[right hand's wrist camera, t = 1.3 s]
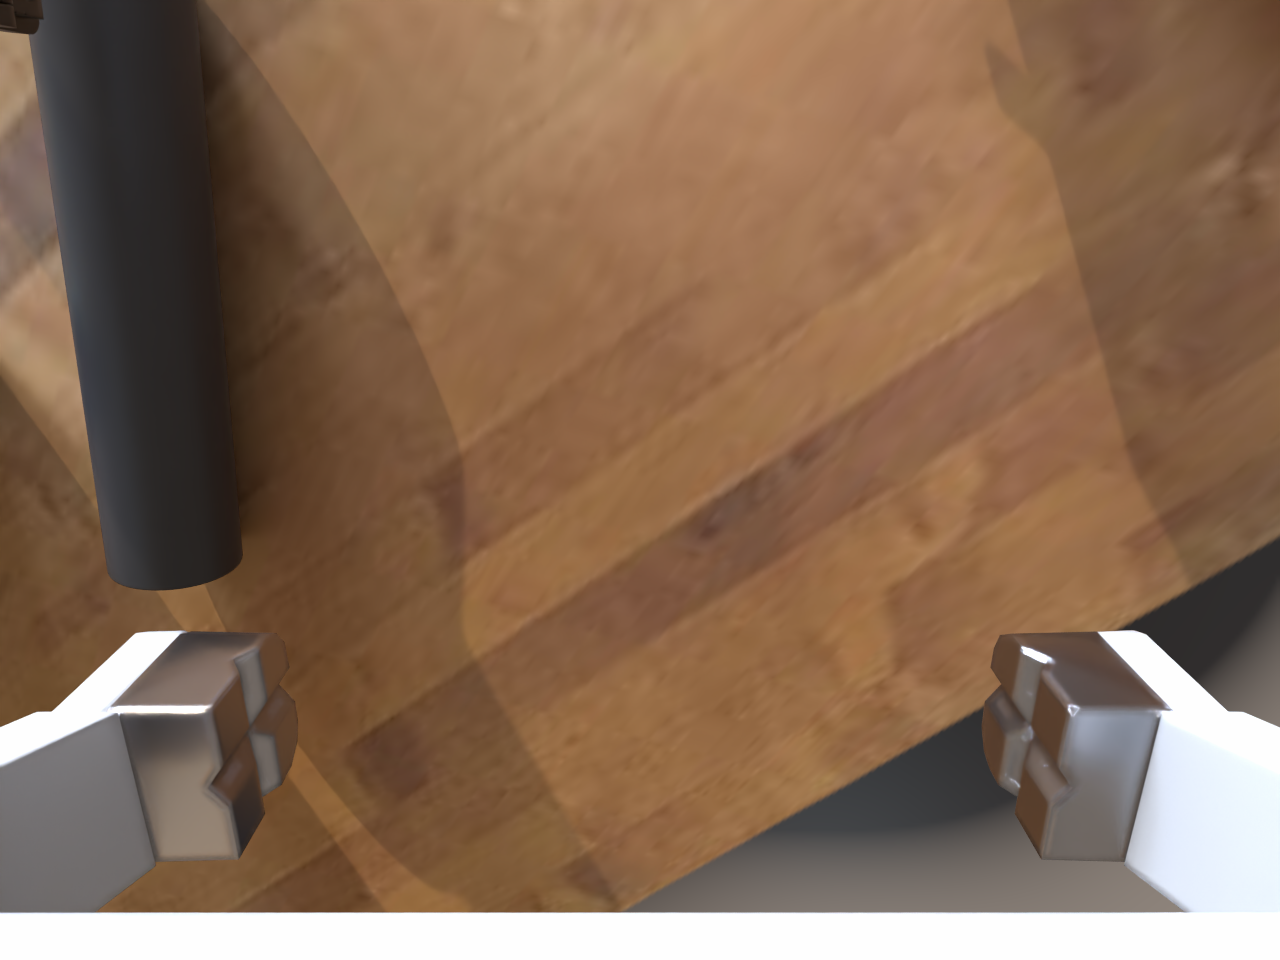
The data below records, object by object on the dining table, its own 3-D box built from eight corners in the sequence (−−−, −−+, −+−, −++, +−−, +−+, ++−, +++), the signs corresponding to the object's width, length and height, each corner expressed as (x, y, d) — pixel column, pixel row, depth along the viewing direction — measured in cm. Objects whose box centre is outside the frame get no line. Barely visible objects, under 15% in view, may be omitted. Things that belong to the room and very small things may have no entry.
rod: (261, 541, 48) (209, 595, 42) (148, 532, 48) (80, 585, 42) (218, -41, 38) (142, -74, 32) (74, -55, 38) (-28, -91, 32)
